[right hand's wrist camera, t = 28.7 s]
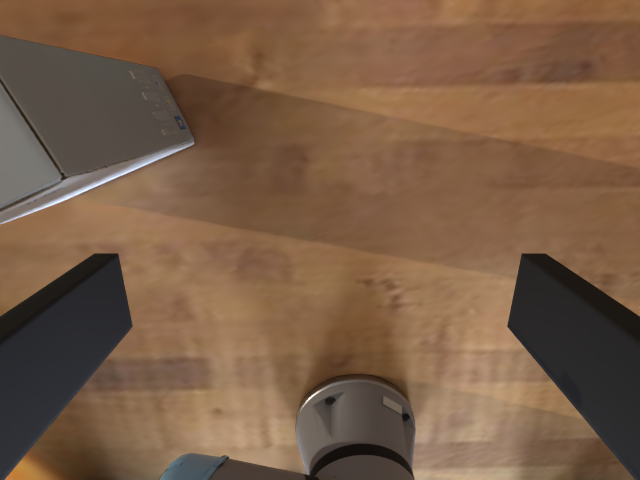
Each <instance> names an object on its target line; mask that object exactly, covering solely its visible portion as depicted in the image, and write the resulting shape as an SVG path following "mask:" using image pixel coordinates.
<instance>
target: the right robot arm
mask: <svg viewBox="0 0 640 480" xmlns="http://www.w3.org/2000/svg"><path fill="white" fill-rule="evenodd" d="M132 327H133V326H132V321H131V316H130V311H129V306H128V301H127V296H126V291H125V286H124V281H123V276H122V271H121V266H120V261H119V256H118V254H93V255H92V256H90V257H89V258H87V259H86V260H84V261H83V262H81V263H80V264H78V265H77V266H75V267H74V268H72V269H71V270H69V271H68V272H66V273H65V274H63V275H62V276H60V277H59V278H57V279H56V280H54V281H53V282H51V283H50V284H48V285H47V286H45V287H44V288H42V289H41V290H39V291H38V292H36V293H35V294H33V295H32V296H30V297H29V298H27V299H26V300H24V301H23V302H21V303H20V304H18V305H17V306H15V307H14V308H12V309H11V310H9V311H8V312H7V313H5V314H4V315H2V316H1V317H0V480H5V478H6V477H7V476H8V475H9V474H10V472H11V471H12V470H13V469H14V468H15V466H16V465H17V464H18V463H19V462H20V460H21V459H22V458H23V457H24V456H25V455H26V453H27V452H28V451H29V450H30V449H31V447H32V446H33V445H34V444H35V443H36V441H37V440H38V439H39V438H40V437H41V435H42V434H43V433H44V432H45V431H46V429H47V428H48V427H49V426H50V425H51V423H52V422H53V421H54V420H55V419H56V417H57V416H58V415H59V414H60V413H61V412H62V410H63V409H64V408H65V407H66V406H67V404H68V403H69V402H70V401H71V400H72V398H73V397H74V396H75V395H76V394H77V392H78V391H79V390H80V389H81V388H82V386H83V385H84V384H85V383H86V382H87V380H88V379H89V378H90V377H91V376H92V374H93V373H94V372H95V371H96V370H97V369H98V367H99V366H100V365H101V364H102V363H103V361H104V360H105V359H106V358H107V357H108V355H109V354H110V353H111V352H112V351H113V349H114V348H115V347H116V346H117V345H118V343H119V342H120V341H121V340H122V339H123V337H124V336H125V335H126V334H127V333H128V331H129V330H130V329H131V328H132ZM507 327H508V328H509V329H510V330H511V331H512V333H513V334H514V335H515V336H516V337H517V339H518V340H519V341H520V342H521V343H522V345H523V346H524V347H525V348H526V349H527V351H528V352H529V353H530V354H531V355H532V357H533V358H534V359H535V360H536V361H537V363H538V364H539V365H540V366H541V367H542V369H543V370H544V371H545V372H546V373H547V374H548V376H549V377H550V378H551V379H552V380H553V382H554V383H555V384H556V385H557V386H558V388H559V389H560V390H561V391H562V392H563V394H564V395H565V396H566V397H567V398H568V400H569V401H570V402H571V403H572V404H573V406H574V407H575V408H576V409H577V410H578V412H579V413H580V414H581V415H582V416H583V417H584V419H585V420H586V421H587V422H588V423H589V425H590V426H591V427H592V428H593V429H594V431H595V432H596V433H597V434H598V435H599V437H600V438H601V439H602V440H603V441H604V443H605V444H606V445H607V446H608V447H609V449H610V450H611V451H612V452H613V453H614V455H615V456H616V457H617V458H618V459H619V460H620V462H621V463H622V464H623V465H624V466H625V468H626V469H627V470H628V471H629V472H630V474H631V475H632V476H633V477H634V478H635V480H640V317H639V316H638V315H636V314H635V313H633V312H632V311H631V310H629V309H628V308H626V307H625V306H623V305H622V304H620V303H619V302H617V301H616V300H614V299H613V298H611V297H610V296H608V295H607V294H605V293H604V292H602V291H601V290H599V289H598V288H596V287H595V286H593V285H592V284H590V283H589V282H587V281H586V280H584V279H583V278H581V277H580V276H578V275H577V274H575V273H574V272H572V271H571V270H569V269H568V268H566V267H565V266H563V265H562V264H560V263H559V262H557V261H556V260H554V259H553V258H551V257H550V256H548V255H547V254H522V256H521V261H520V266H519V271H518V276H517V281H516V286H515V291H514V296H513V301H512V306H511V311H510V316H509V321H508V326H507ZM296 438H297V443H298V447H299V450H300V453H301V456H302V460H303V463H304V466H305V469H306V472H307V475H305V474H301V473H296V472H290V471H286V470H281V469H276V468H271V467H266V466H261V465H257V464H252V463H247V462H242V461H237V460H232V459H229V456H226V455H224V456H222V457H216V456H208V455H202V454H195V453H189V454H185V455H182V456H180V457H179V458H177V459H176V460H175V461H173V462H172V463H171V464H170V465H169V467H168V468H167V469H166V470H165V472H164V473H163V475H162V476H161V478H160V479H159V480H414V476H413V471H412V465H413V454H414V444H415V420H414V416H413V413H412V409H411V406H410V404H409V402H408V400H407V398H406V397H405V395H404V394H403V393H402V392H401V391H400V390H399V389H398V388H397V387H395V386H394V385H392V384H391V383H389V382H387V381H385V380H383V379H380V378H377V377H373V376H368V375H356V374H354V375H344V376H339V377H335V378H332V379H329V380H327V381H325V382H323V383H321V384H319V385H318V386H316V387H315V388H314V389H312V390H311V391H310V392H309V393H308V394H307V395H306V396H305V398H304V399H303V400H302V402H301V404H300V406H299V409H298V412H297V417H296Z"/></svg>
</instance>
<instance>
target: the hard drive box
mask: <svg viewBox="0 0 640 480" xmlns="http://www.w3.org/2000/svg"><path fill="white" fill-rule="evenodd" d="M194 140H195V139H194V137H193V135H192V133H191V131H190V129H189V127H188V125H187V123H186V121H185V119H184V117H183V115H182V113H181V111H180V109H179V108H178V106H177V104H176V102H175V100H174V98H173V96H172V94H171V92H170V90H169V89H168V87H167V85H166V83H165V81H164V79H163V77H162V75H161V74H160V72H159V70H158V69H157V68H155V67H150V66H146V65H141V64H136V63H132V62H127V61H122V60H117V59H112V58H107V57H102V56H97V55H92V54H88V53H83V52H78V51H73V50H68V49H64V48H59V47H54V46H49V45H44V44H40V43H35V42H30V41H25V40H21V39H16V38H11V37H7V36H2V35H0V224H3V223H6V222H8V221H11V220H14V219H17V218H19V217H22V216H25V215H27V214H30V213H33V212H35V211H38V210H41V209H43V208H46V207H49V206H51V205H54V204H57V203H59V202H62V201H64V200H67V199H69V198H71V197H74V196H76V195H78V194H80V193H83V192H85V191H87V190H89V189H92V188H94V187H96V186H99V185H101V184H103V183H105V182H108V181H110V180H112V179H115V178H117V177H119V176H122V175H124V174H126V173H129V172H131V171H133V170H136V169H138V168H140V167H143V166H145V165H147V164H150V163H152V162H154V161H157V160H159V159H161V158H164V157H166V156H168V155H171V154H173V153H175V152H178V151H180V150H182V149H185V148H187V147H189V146H191V145H193V144H194Z"/></svg>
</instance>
